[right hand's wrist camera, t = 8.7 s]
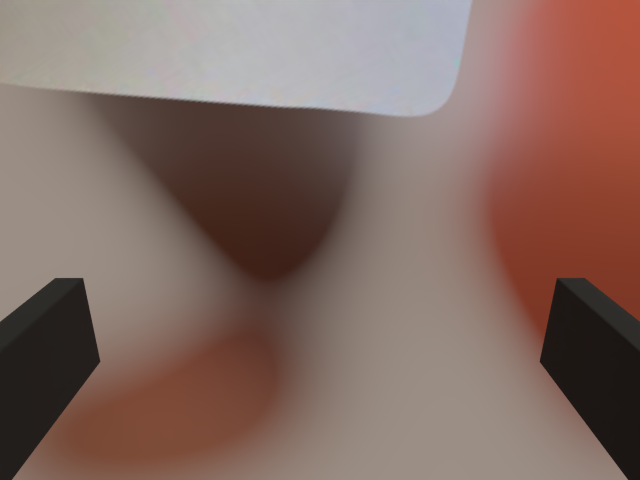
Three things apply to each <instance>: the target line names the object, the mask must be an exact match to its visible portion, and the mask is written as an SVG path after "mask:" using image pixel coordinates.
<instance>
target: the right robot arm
mask: <svg viewBox="0 0 640 480" xmlns="http://www.w3.org/2000/svg"><path fill="white" fill-rule="evenodd" d="M99 363H100V358H99V353H98V348H97V344H96V339H95V334H94V329H93V324H92V319H91V314H90V310H89V305H88V300H87V295H86V290H85V285H84V281H83V278H55V279H54V280H52V281H51V282H50V283H49V284H47V285H46V286H45V287H44V288H42V289H41V290H40V291H39V292H37V293H36V294H35V295H33V296H32V297H31V298H30V299H28V300H27V301H26V302H25V303H23V304H22V305H21V306H20V307H18V308H17V309H16V310H15V311H13V312H12V313H11V314H10V315H8V316H7V317H6V318H4V319H3V320H2V321H1V322H0V480H12V479H13V477H14V476H15V475H16V473H17V472H18V471H19V469H20V468H21V467H22V465H23V464H24V463H25V461H26V460H27V459H28V457H29V456H30V455H31V453H32V452H33V451H34V449H35V448H36V447H37V445H38V444H39V443H40V441H41V440H42V439H43V437H44V436H45V435H46V433H47V432H48V431H49V429H50V428H51V427H52V425H53V424H54V423H55V421H56V420H57V419H58V417H59V416H60V415H61V413H62V412H63V411H64V409H65V408H66V407H67V405H68V404H69V403H70V401H71V400H72V399H73V397H74V396H75V395H76V393H77V392H78V391H79V389H80V388H81V387H82V385H83V384H84V383H85V381H86V380H87V379H88V377H89V376H90V375H91V373H92V372H93V371H94V369H95V368H96V367H97V365H98V364H99ZM540 363H541V364H542V365H543V367H544V368H545V369H546V370H547V372H548V373H549V375H550V376H551V377H552V379H553V380H554V381H555V383H556V384H557V385H558V387H559V388H560V389H561V391H562V392H563V393H564V395H565V396H566V397H567V399H568V400H569V401H570V403H571V404H572V405H573V407H574V408H575V409H576V411H577V412H578V413H579V415H580V416H581V417H582V419H583V420H584V421H585V423H586V424H587V425H588V427H589V428H590V429H591V431H592V432H593V433H594V435H595V436H596V437H597V439H598V440H599V441H600V443H601V444H602V445H603V447H604V448H605V449H606V451H607V452H608V453H609V455H610V456H611V457H612V459H613V460H614V461H615V463H616V464H617V465H618V467H619V468H620V469H621V471H622V472H623V473H624V475H625V476H626V477H627V479H628V480H640V322H639V321H638V320H637V319H635V318H634V317H633V316H632V315H630V314H629V313H628V312H627V311H625V310H624V309H623V308H622V307H620V306H619V305H618V304H617V303H615V302H614V301H613V300H611V299H610V298H609V297H608V296H607V295H605V294H604V293H603V292H601V291H600V290H599V289H598V288H596V287H595V286H594V285H593V284H591V283H590V282H589V281H588V280H586V279H585V278H557V281H556V285H555V290H554V295H553V300H552V305H551V310H550V314H549V319H548V324H547V329H546V334H545V339H544V344H543V348H542V353H541V358H540Z"/></svg>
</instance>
